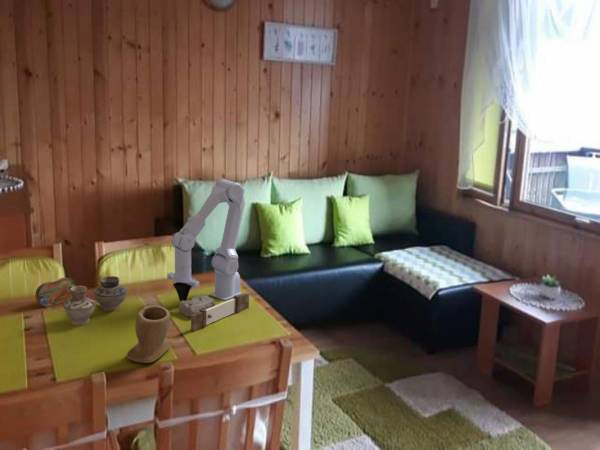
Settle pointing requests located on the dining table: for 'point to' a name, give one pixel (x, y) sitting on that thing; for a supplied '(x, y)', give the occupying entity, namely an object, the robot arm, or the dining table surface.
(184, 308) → the stone
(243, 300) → the wooden plank
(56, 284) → the tin
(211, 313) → the door
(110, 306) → the pottery
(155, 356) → the stone cup
